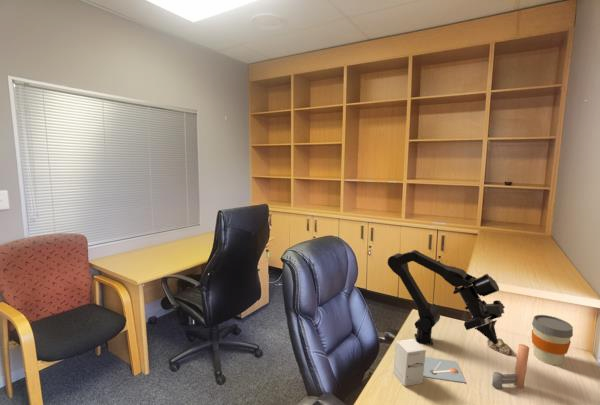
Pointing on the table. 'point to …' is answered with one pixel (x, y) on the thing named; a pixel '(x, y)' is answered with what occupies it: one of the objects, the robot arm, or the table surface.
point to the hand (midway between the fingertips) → (496, 343)
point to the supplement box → (409, 362)
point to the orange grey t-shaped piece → (519, 370)
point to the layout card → (442, 370)
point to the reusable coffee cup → (550, 339)
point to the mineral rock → (500, 347)
